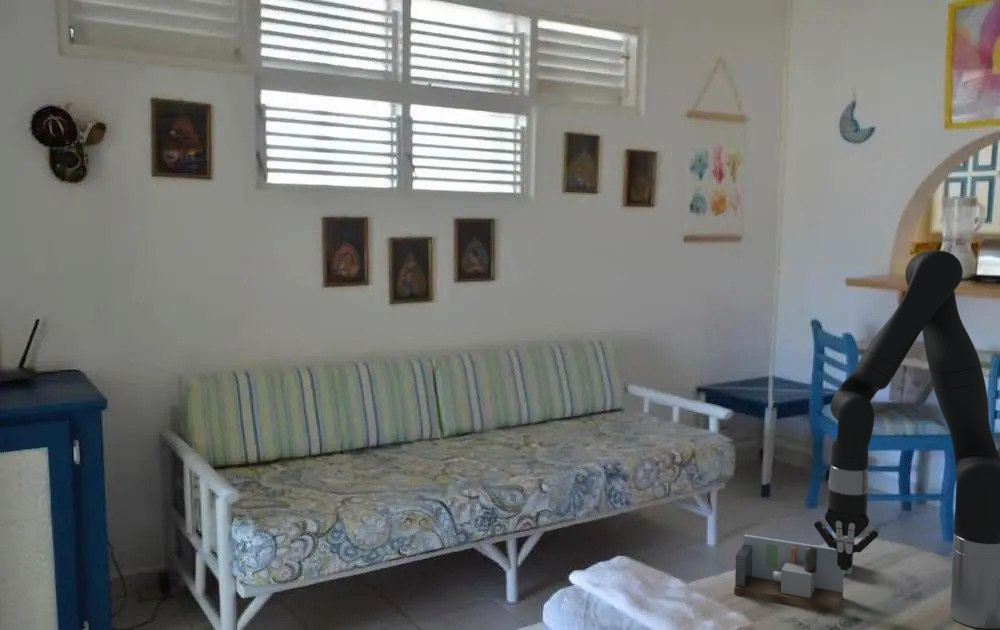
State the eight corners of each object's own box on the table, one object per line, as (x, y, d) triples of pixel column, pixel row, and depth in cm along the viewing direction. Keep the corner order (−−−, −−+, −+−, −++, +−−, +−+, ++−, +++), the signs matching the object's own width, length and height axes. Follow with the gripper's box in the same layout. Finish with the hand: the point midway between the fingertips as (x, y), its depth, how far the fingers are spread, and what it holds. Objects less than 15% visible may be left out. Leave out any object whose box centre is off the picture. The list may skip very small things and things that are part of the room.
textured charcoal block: (751, 576, 193) (752, 545, 192) (744, 587, 187) (745, 556, 186) (742, 574, 194) (743, 544, 193) (735, 585, 188) (735, 554, 187)
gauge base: (842, 597, 185) (843, 590, 185) (837, 613, 177) (837, 606, 177) (743, 579, 195) (743, 573, 195) (734, 594, 187) (734, 587, 187)
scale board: (843, 590, 185) (844, 549, 184) (842, 592, 184) (843, 551, 183) (743, 573, 195) (744, 534, 194) (742, 574, 194) (743, 535, 193)
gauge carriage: (818, 588, 186) (819, 544, 185) (814, 598, 180) (815, 552, 180) (776, 581, 190) (777, 537, 189) (771, 591, 185) (772, 546, 184)
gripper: (884, 487, 178) (880, 568, 180) (817, 478, 184) (814, 557, 186) (881, 497, 171) (877, 581, 173) (811, 487, 178) (808, 568, 180)
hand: (844, 568), depth 180 cm, fingers closed
